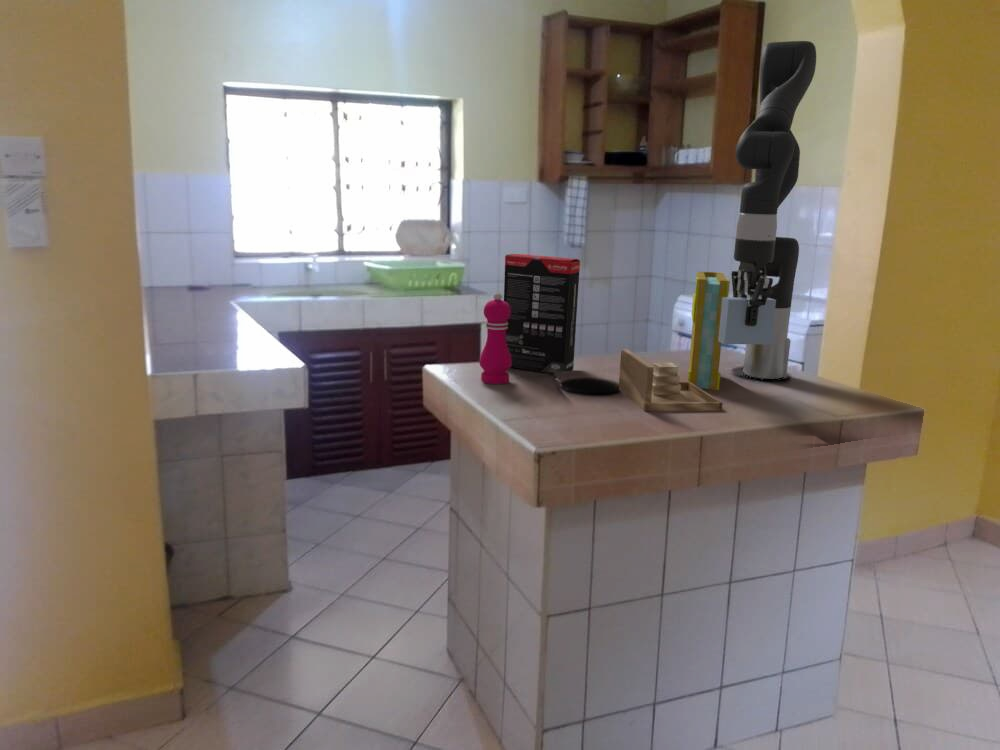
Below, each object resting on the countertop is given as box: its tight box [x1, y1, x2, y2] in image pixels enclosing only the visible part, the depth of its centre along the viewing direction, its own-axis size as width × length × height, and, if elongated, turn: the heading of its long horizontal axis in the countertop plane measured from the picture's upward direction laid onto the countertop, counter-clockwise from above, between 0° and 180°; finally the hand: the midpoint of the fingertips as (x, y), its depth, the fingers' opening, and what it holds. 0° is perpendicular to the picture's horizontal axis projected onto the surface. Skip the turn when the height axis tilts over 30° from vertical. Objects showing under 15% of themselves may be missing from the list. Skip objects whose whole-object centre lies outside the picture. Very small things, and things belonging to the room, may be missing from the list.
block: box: [718, 296, 776, 345], centre depth 162 cm, size 10×3×9 cm, turn 99°
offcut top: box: [652, 362, 679, 376], centre depth 171 cm, size 4×4×2 cm
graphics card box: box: [503, 253, 581, 375], centre depth 191 cm, size 17×7×27 cm, turn 65°
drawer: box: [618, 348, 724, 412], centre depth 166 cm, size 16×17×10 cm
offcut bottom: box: [652, 384, 681, 395], centre depth 172 cm, size 6×4×2 cm, turn 99°
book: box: [687, 271, 731, 391], centre depth 182 cm, size 17×7×25 cm, turn 168°
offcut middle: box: [653, 372, 680, 386], centre depth 172 cm, size 5×4×2 cm
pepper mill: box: [478, 292, 512, 385], centre depth 180 cm, size 7×7×20 cm
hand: (746, 323), depth 162 cm, fingers closed on block, 3 cm apart
